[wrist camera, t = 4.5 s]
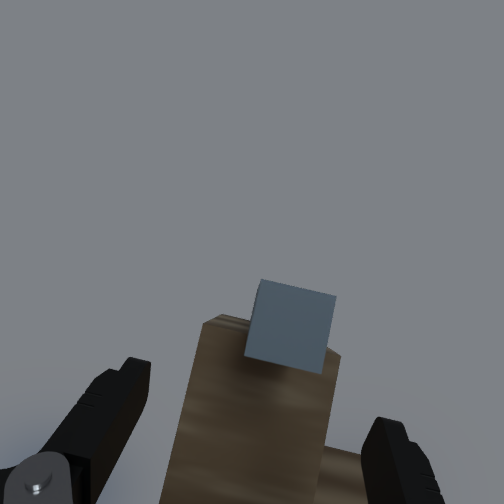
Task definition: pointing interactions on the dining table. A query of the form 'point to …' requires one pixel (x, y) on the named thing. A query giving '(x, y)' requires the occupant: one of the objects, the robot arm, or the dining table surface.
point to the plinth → (257, 430)
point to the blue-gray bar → (290, 326)
